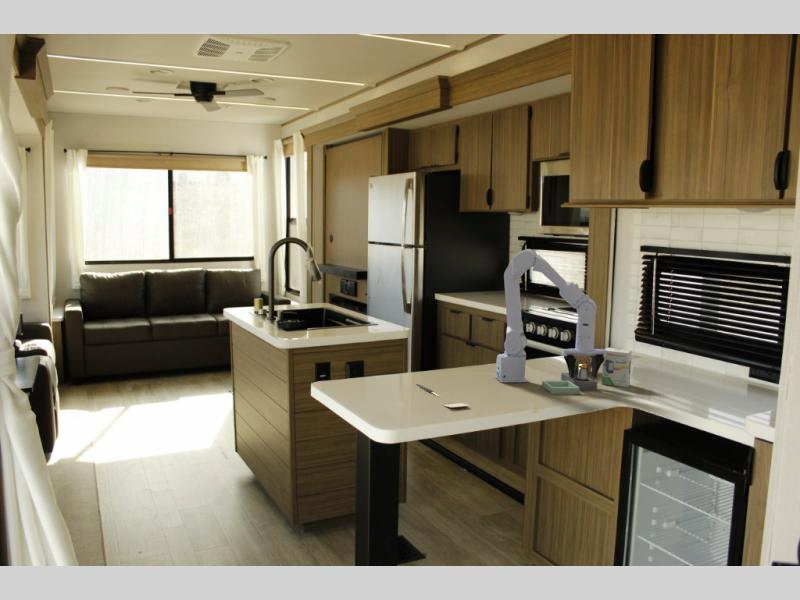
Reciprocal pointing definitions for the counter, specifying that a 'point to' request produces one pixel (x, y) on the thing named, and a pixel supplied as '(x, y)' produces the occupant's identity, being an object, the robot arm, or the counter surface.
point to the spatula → (438, 395)
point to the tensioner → (583, 385)
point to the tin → (584, 361)
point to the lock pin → (582, 372)
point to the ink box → (617, 367)
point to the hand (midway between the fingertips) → (582, 377)
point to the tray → (560, 387)
